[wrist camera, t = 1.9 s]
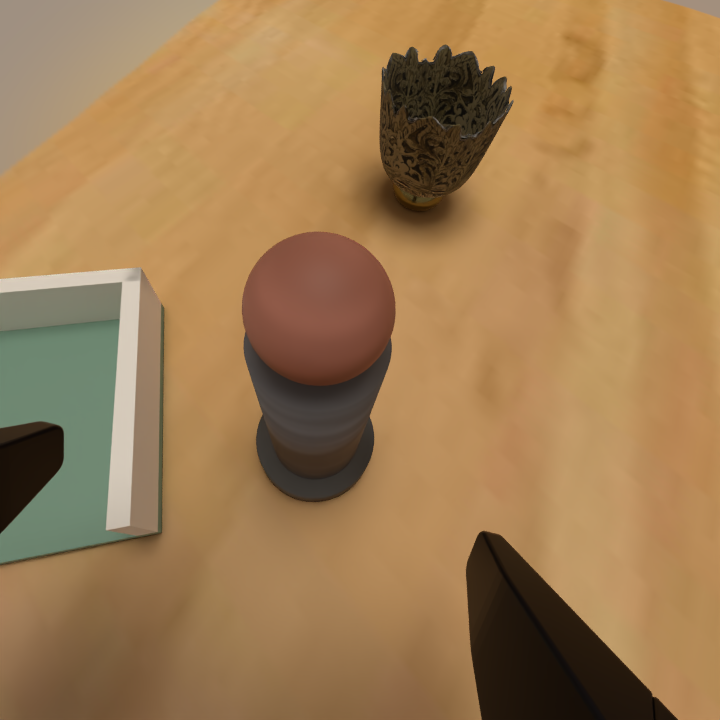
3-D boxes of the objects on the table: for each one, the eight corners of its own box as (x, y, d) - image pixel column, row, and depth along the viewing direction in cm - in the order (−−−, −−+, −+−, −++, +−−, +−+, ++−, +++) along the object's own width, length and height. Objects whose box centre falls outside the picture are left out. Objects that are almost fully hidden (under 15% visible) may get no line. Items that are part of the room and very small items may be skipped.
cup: (378, 240, 27) (402, 124, 20) (355, 166, 30) (368, 43, 23) (480, 230, 28) (536, 119, 21) (447, 160, 32) (487, 43, 24)
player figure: (335, 524, 19) (381, 445, 6) (237, 465, 19) (109, 293, 7) (388, 425, 21) (492, 232, 9) (298, 376, 22) (282, 135, 10)
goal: (161, 532, 18) (129, 525, 15) (-158, 595, 16) (-274, 603, 12) (163, 307, 23) (140, 267, 20) (-76, 332, 21) (-144, 290, 18)
